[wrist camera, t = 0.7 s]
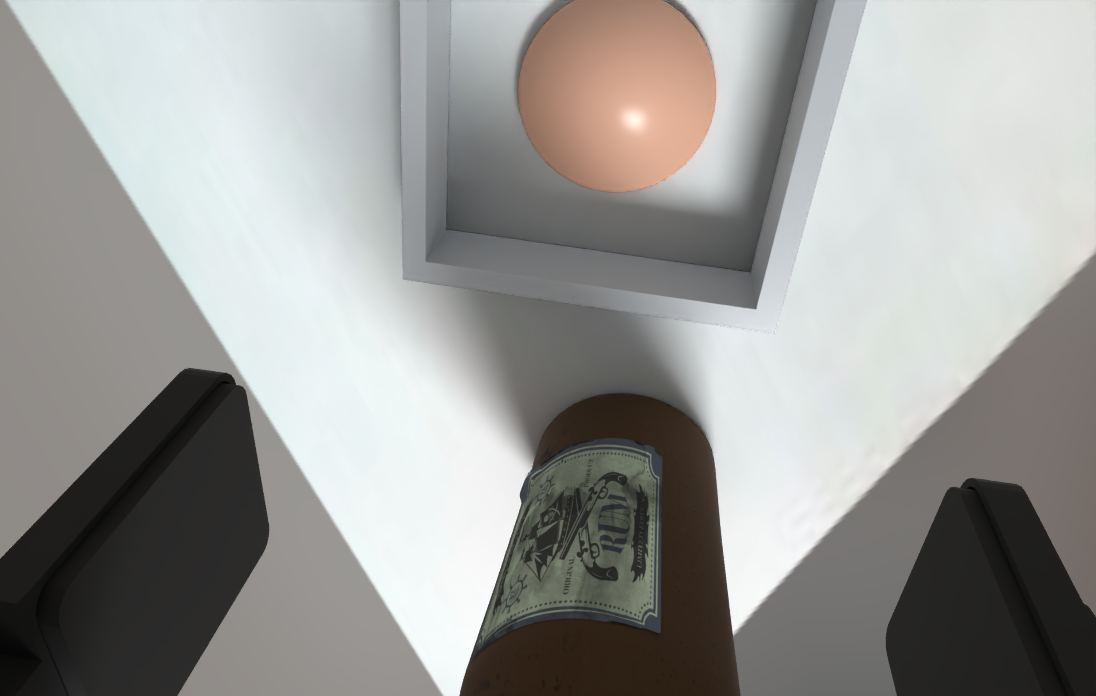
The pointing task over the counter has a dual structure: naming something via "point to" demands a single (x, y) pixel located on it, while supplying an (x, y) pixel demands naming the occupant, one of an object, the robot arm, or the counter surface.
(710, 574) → the brown glass bottle
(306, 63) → the counter surface
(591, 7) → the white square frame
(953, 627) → the robot arm
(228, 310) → the counter surface
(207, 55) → the counter surface
